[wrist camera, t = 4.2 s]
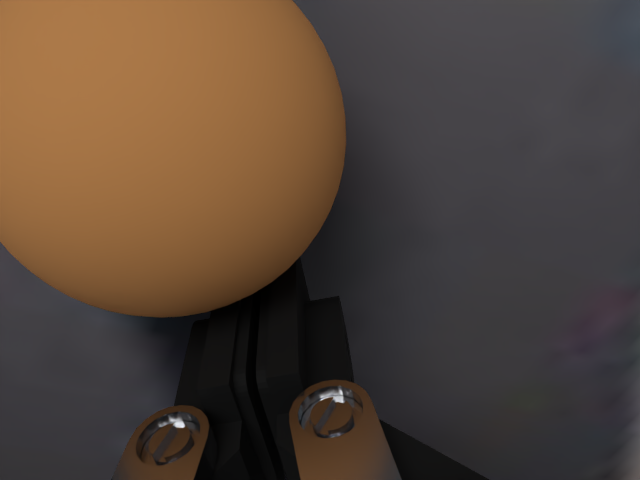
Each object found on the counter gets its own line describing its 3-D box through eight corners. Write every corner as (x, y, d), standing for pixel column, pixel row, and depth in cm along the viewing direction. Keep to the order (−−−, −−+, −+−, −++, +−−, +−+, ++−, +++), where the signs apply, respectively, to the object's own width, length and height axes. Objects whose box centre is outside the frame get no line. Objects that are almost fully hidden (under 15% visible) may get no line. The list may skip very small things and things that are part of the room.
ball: (362, 215, 13) (409, 334, 7) (115, 276, 13) (-27, 436, 8) (297, -66, 11) (291, -200, 5) (14, 11, 11) (-274, -42, 6)
